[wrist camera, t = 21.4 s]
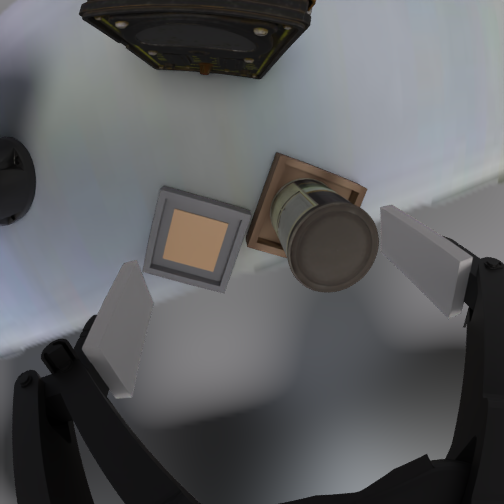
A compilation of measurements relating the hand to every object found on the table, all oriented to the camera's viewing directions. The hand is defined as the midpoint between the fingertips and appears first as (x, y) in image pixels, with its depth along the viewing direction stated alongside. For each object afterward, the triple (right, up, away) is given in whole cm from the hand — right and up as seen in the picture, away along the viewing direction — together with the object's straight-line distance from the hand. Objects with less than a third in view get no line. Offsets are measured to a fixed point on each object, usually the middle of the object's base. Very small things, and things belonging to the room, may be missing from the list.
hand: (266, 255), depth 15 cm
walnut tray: (+7, +6, +29) cm, 31 cm away
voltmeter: (-6, +28, +19) cm, 34 cm away
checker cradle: (-9, +2, +30) cm, 31 cm away
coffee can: (+7, +6, +29) cm, 30 cm away
